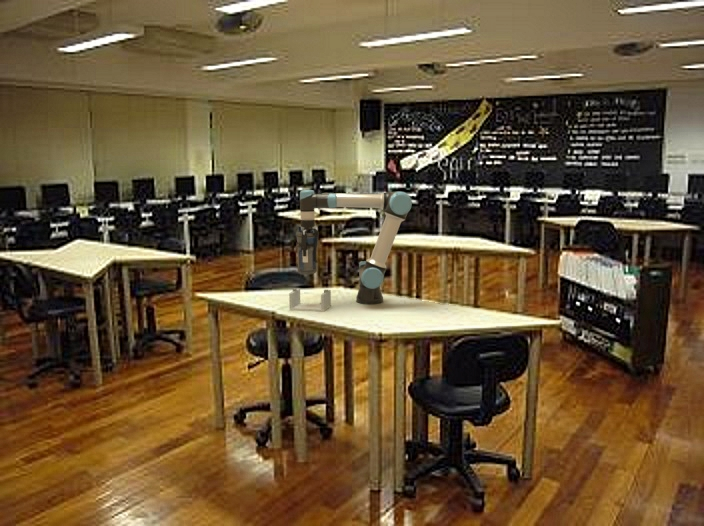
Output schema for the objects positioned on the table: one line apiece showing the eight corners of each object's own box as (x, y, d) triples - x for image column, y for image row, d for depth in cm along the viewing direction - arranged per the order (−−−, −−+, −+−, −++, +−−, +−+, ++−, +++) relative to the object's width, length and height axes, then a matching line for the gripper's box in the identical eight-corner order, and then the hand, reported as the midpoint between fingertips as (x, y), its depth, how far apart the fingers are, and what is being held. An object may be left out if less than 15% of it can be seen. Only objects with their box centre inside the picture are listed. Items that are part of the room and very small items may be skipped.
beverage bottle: (312, 275, 326) (311, 228, 322) (293, 273, 334) (291, 227, 330) (324, 272, 335) (323, 226, 331) (304, 270, 342) (303, 225, 338)
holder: (330, 305, 340) (330, 287, 339) (324, 311, 327) (323, 292, 325) (297, 304, 345) (297, 286, 343) (289, 309, 331) (289, 291, 330)
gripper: (307, 217, 342) (308, 257, 345) (293, 221, 320) (294, 263, 323) (320, 217, 340) (321, 258, 343) (307, 221, 318) (308, 264, 321)
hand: (308, 260), depth 333 cm, fingers closed on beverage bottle, 10 cm apart
